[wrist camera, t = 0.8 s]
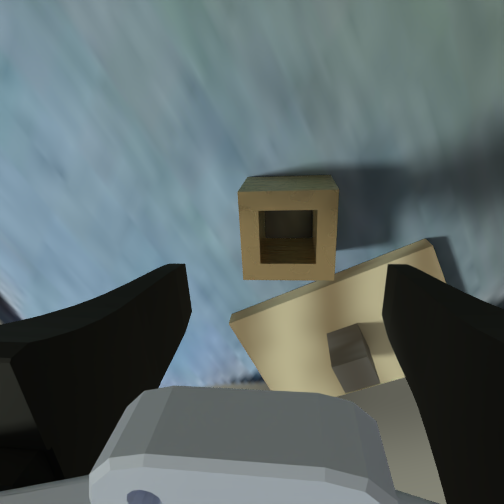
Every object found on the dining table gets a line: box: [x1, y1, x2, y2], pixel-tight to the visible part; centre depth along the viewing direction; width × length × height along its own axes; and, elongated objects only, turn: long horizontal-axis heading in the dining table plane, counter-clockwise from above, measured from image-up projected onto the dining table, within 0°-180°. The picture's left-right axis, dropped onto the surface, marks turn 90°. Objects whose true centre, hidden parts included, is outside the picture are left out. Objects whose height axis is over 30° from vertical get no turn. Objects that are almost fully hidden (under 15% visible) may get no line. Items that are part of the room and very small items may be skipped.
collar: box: [238, 175, 339, 281], centre depth 19 cm, size 5×5×4 cm
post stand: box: [229, 239, 446, 397], centre depth 22 cm, size 14×9×4 cm, turn 118°
